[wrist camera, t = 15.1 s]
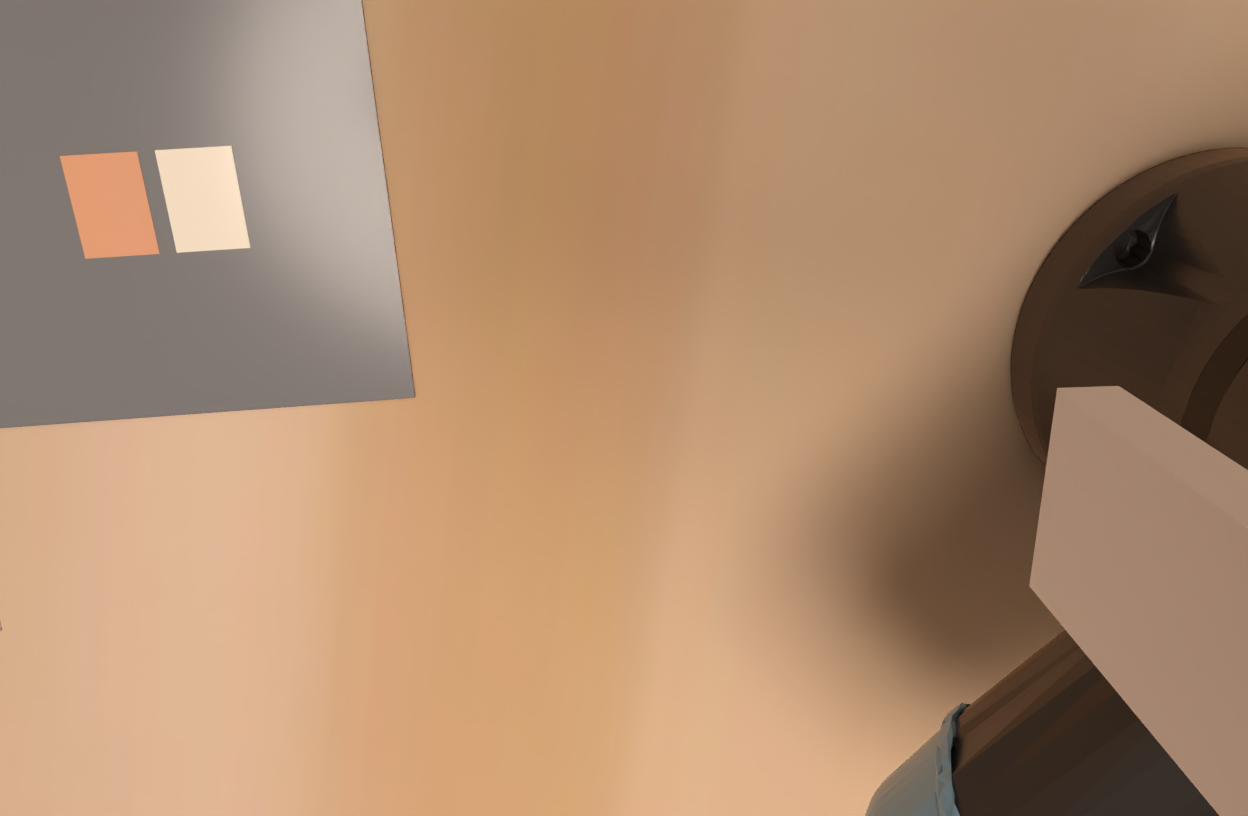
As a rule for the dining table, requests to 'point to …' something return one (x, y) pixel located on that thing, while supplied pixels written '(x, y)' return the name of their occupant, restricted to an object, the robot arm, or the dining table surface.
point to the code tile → (192, 211)
